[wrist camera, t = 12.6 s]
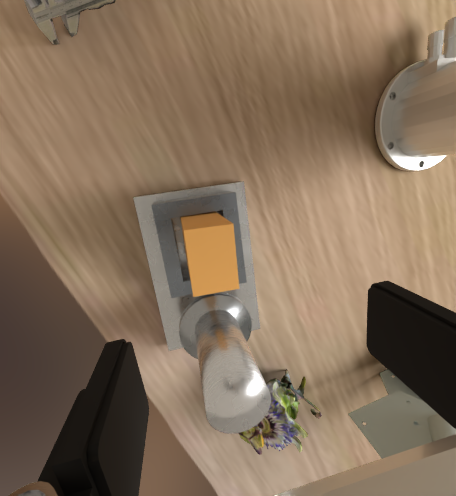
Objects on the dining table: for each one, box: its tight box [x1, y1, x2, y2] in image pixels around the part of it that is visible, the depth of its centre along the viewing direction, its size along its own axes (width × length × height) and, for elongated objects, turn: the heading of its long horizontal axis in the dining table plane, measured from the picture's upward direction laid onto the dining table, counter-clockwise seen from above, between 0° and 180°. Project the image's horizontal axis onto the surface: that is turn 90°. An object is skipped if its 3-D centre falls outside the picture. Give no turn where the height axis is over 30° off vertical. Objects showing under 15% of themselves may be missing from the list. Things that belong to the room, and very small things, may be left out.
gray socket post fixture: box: [133, 182, 271, 434], centre depth 24 cm, size 19×12×16 cm, turn 7°
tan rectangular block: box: [180, 211, 239, 297], centre depth 23 cm, size 5×4×11 cm
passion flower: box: [239, 369, 321, 454], centre depth 34 cm, size 11×11×12 cm
